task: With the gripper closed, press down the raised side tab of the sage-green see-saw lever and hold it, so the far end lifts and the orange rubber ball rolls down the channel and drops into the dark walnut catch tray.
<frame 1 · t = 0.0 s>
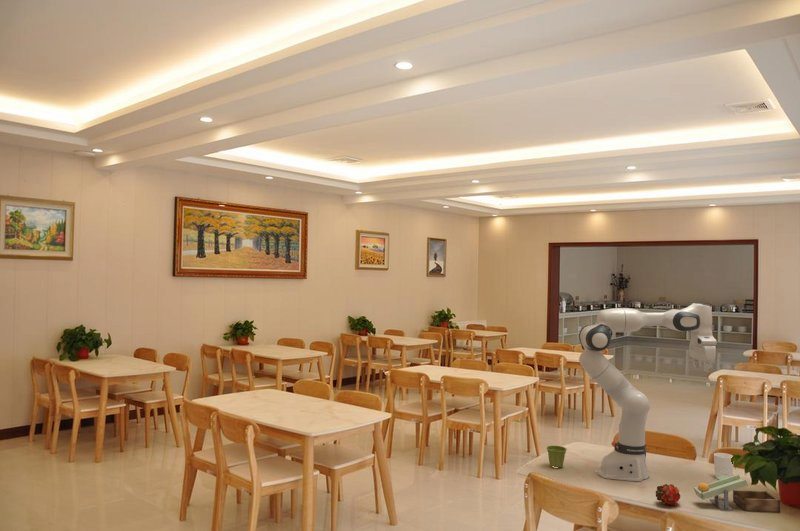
hand: (701, 369, 275), 48 cm above the table, fingers open, 8 cm apart
white cup: (723, 478, 273), on the table
fulcrum: (721, 505, 239), on the table
ball: (703, 487, 240), point 7 cm above the table, tilted 8°, touching lever
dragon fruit: (668, 504, 241), on the table
plant pot: (556, 467, 288), on the table
tray: (756, 506, 238), on the table
lever: (716, 483, 243), point 7 cm above the table, hinge at -20.0°, touching ball
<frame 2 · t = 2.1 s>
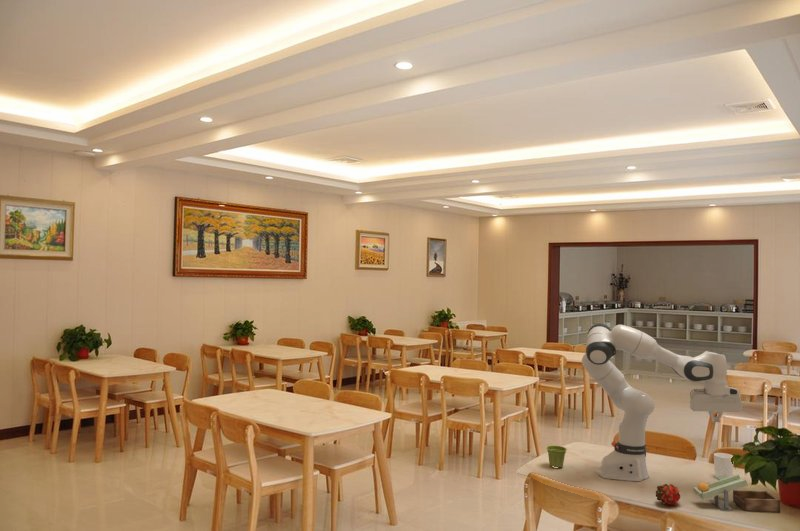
hand: (715, 421, 258), 28 cm above the table, fingers closed
nothing on the table moved.
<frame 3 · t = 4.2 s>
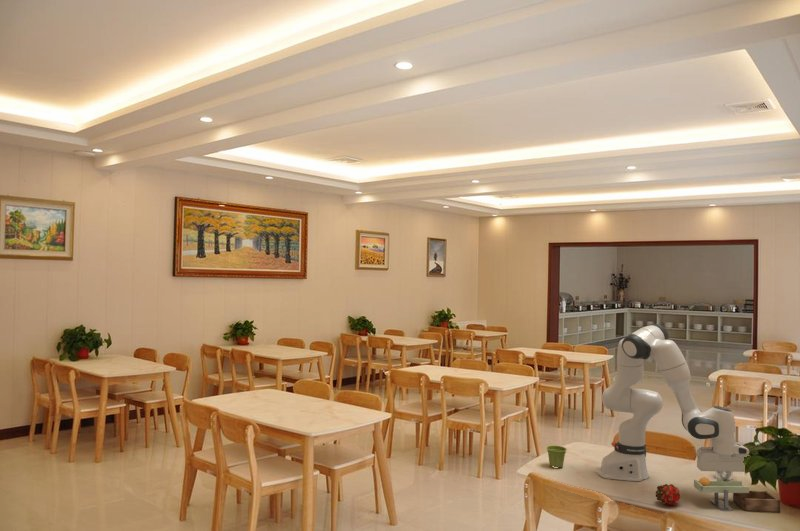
hand: (724, 482, 246), 7 cm above the table, fingers closed, pressing on lever
ball: (704, 482, 240), point 9 cm above the table, tilted 12°, touching lever
lever: (717, 483, 243), point 7 cm above the table, hinge at -1.4°, touching ball, gripper
everything else where it was.
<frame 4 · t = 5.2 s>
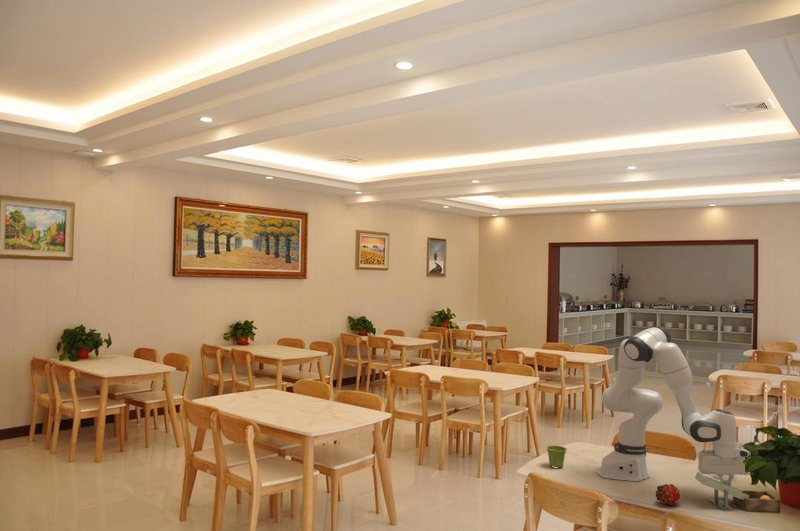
hand: (725, 485, 246), 6 cm above the table, fingers closed
ball: (765, 500, 238), point 2 cm above the table, tilted 23°, touching tray
lever: (718, 483, 243), point 7 cm above the table, hinge at 20.4°, touching gripper
everything else where it was.
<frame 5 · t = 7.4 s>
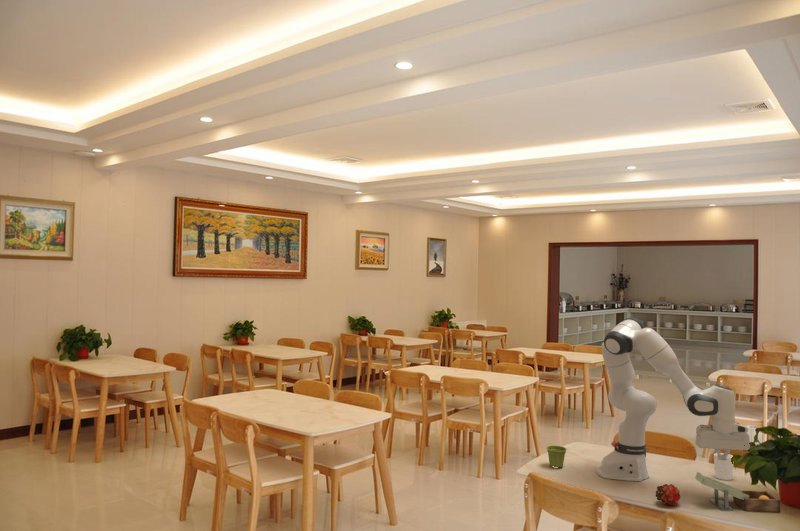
hand: (722, 459, 248), 15 cm above the table, fingers closed
ball: (764, 500, 238), point 2 cm above the table, tilted 9°, touching tray
lever: (718, 483, 243), point 7 cm above the table, hinge at 20.4°
everything else where it was.
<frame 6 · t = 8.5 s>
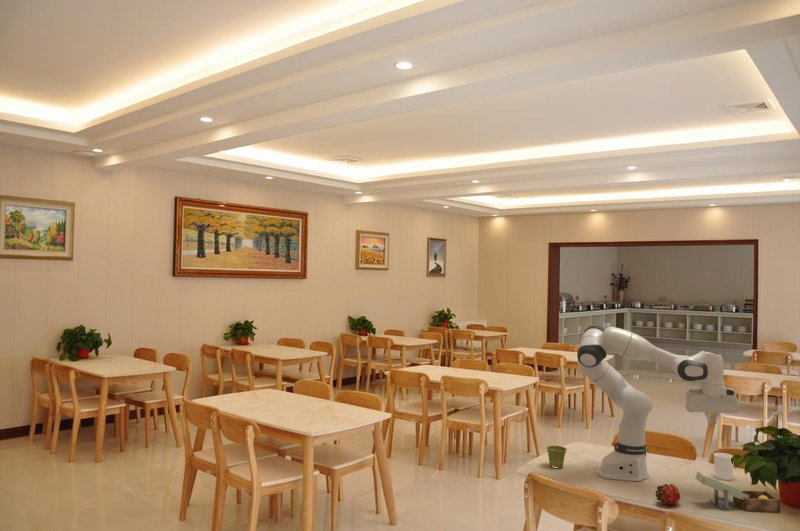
hand: (712, 423, 253), 29 cm above the table, fingers closed
ball: (763, 500, 238), point 2 cm above the table, touching tray
everything else where it was.
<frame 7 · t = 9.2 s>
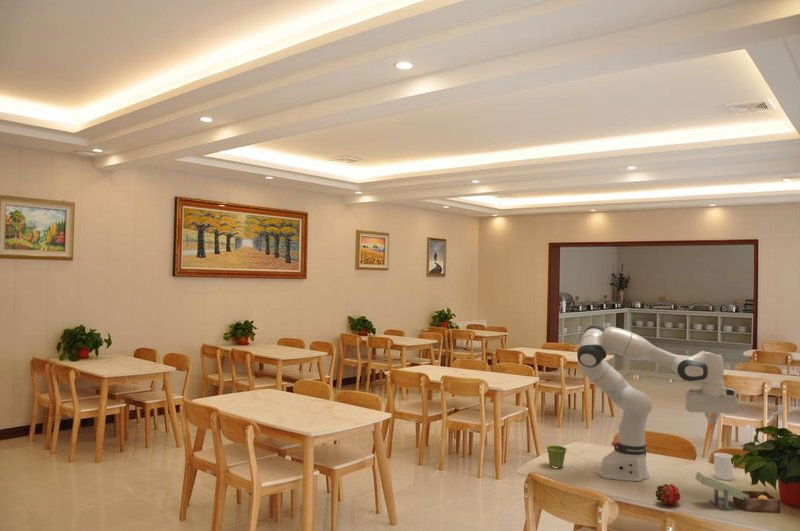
hand: (712, 423, 253), 29 cm above the table, fingers closed
nothing on the table moved.
at the end: ball inside the target area on the tray (2.6 cm from its centre), point 2.4 cm above the tray's base; lever at +20° (first picture: -20°) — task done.
